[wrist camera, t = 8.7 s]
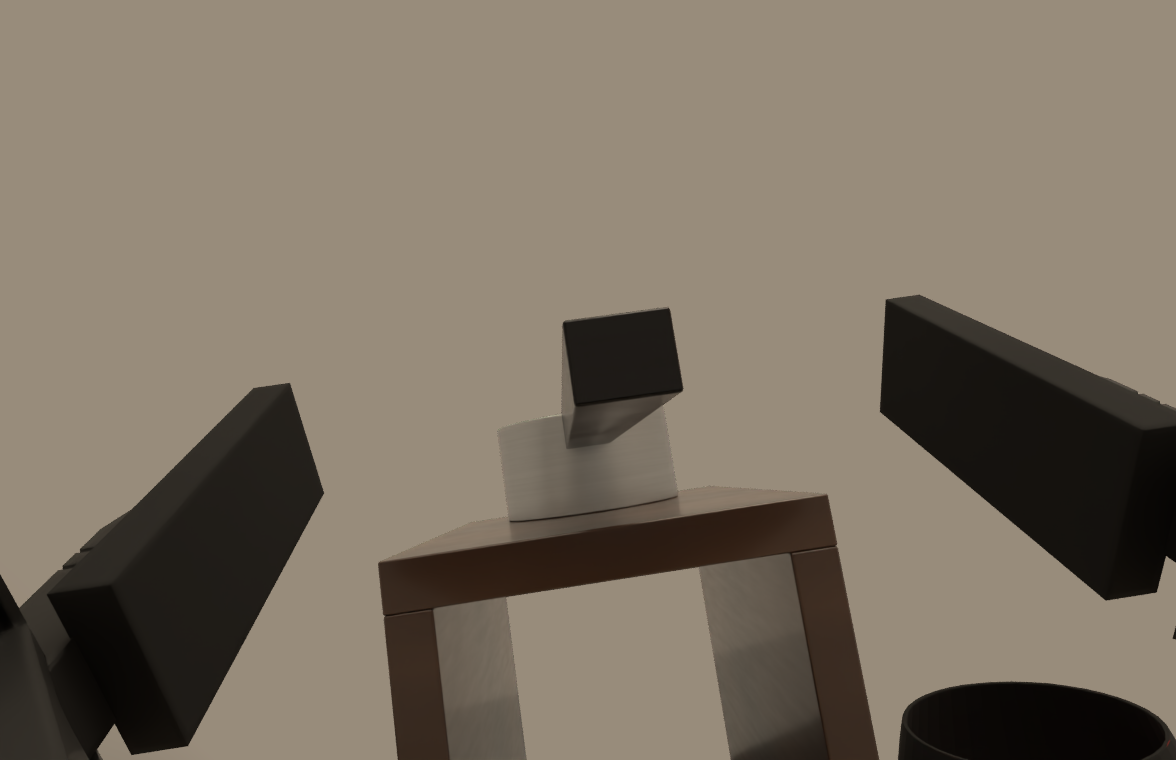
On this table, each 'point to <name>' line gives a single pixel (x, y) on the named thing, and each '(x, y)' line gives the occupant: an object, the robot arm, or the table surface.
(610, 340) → the pan
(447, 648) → the shelf
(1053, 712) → the wine glass
